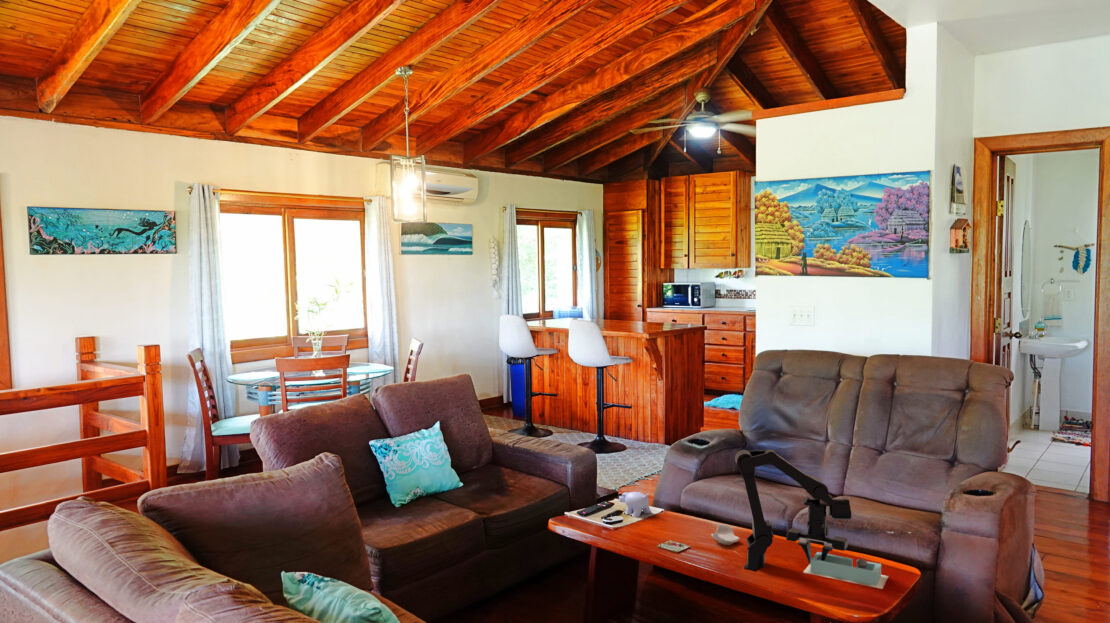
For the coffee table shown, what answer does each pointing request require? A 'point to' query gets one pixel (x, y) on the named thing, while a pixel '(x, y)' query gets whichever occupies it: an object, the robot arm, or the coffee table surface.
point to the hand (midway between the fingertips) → (816, 564)
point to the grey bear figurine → (635, 503)
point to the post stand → (863, 565)
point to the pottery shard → (725, 535)
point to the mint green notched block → (845, 569)
